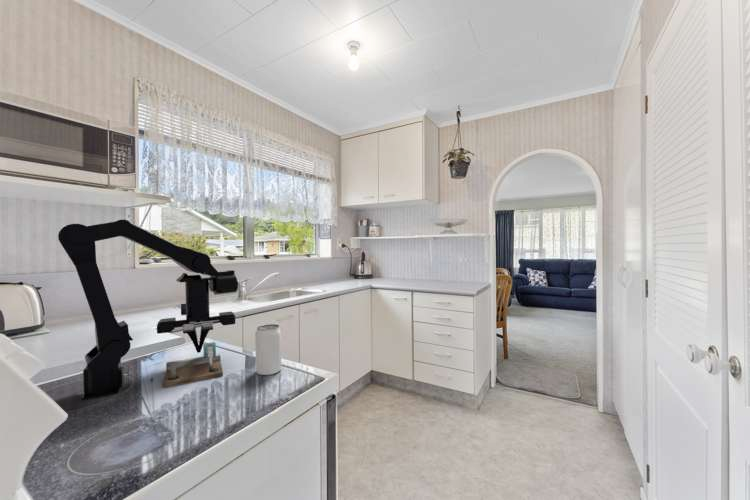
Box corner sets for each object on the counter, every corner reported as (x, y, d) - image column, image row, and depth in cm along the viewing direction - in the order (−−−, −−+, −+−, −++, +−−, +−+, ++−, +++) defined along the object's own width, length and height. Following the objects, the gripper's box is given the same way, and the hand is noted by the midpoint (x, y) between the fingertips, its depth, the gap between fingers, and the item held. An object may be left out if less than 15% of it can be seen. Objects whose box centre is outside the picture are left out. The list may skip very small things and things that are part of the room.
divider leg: (204, 370, 81) (203, 354, 81) (203, 358, 90) (203, 343, 90) (217, 368, 83) (216, 352, 83) (215, 356, 92) (215, 342, 92)
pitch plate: (162, 387, 75) (162, 369, 75) (167, 370, 86) (166, 354, 85) (222, 376, 81) (222, 358, 81) (220, 361, 92) (219, 346, 92)
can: (256, 368, 86) (256, 325, 86) (281, 365, 88) (280, 323, 88) (255, 377, 80) (254, 331, 80) (281, 374, 82) (280, 328, 82)
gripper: (231, 290, 99) (232, 339, 100) (160, 296, 90) (161, 349, 90) (234, 295, 90) (236, 349, 90) (155, 302, 80) (157, 362, 81)
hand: (198, 352), depth 88 cm, fingers closed
